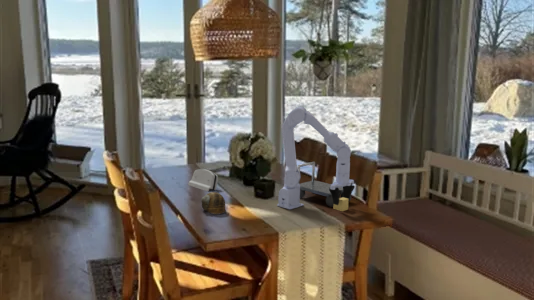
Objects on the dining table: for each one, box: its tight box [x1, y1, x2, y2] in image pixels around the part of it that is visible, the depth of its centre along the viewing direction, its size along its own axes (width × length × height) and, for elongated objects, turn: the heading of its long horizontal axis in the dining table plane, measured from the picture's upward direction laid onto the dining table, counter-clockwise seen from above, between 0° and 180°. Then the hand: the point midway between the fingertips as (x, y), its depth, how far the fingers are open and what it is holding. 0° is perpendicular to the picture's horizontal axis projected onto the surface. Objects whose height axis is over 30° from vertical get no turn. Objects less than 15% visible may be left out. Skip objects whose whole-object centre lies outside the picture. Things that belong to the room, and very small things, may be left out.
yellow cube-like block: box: [332, 197, 350, 212], centre depth 219 cm, size 4×5×5 cm
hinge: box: [187, 168, 219, 192], centre depth 250 cm, size 17×5×10 cm, turn 46°
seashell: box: [201, 191, 227, 215], centre depth 212 cm, size 11×9×8 cm
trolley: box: [297, 161, 352, 208], centre depth 232 cm, size 14×24×16 cm, turn 45°
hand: (341, 202), depth 218 cm, fingers open, 7 cm apart
